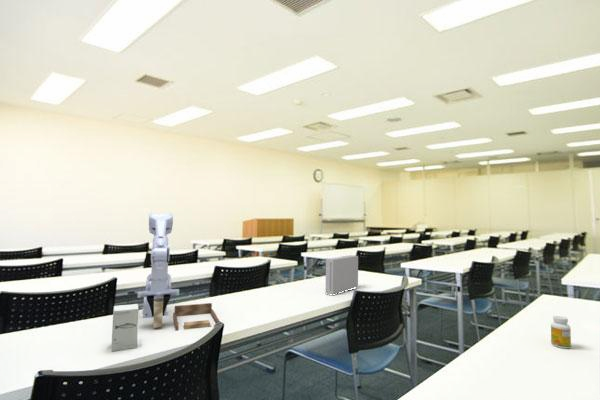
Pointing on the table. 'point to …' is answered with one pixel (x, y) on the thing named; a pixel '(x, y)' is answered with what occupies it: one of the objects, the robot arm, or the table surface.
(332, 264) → the game console
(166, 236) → the robot arm
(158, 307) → the light wood block
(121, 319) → the supplement box
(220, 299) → the table surface
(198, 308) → the walnut rack
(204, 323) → the upper oak offcut
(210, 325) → the lower oak offcut
